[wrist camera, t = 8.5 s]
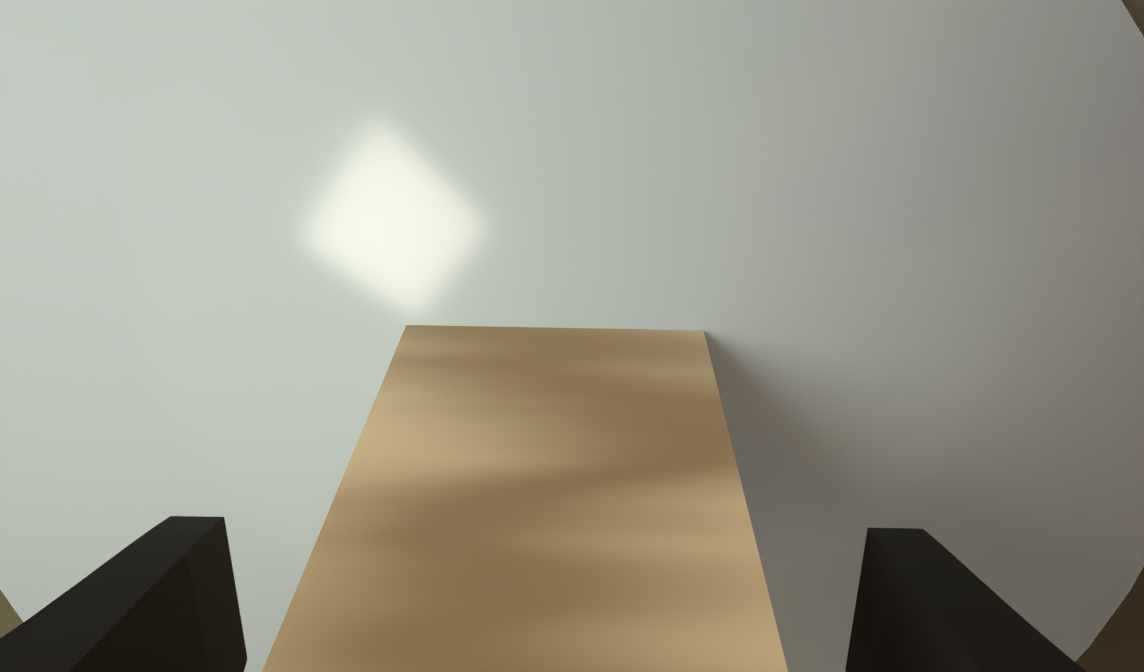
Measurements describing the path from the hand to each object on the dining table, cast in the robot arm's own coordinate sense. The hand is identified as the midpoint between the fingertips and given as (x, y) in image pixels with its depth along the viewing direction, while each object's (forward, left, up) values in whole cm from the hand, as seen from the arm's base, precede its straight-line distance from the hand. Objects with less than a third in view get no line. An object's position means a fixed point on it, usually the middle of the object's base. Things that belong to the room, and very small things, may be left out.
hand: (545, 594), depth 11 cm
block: (0, 0, -3) cm, 3 cm away
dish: (0, 0, -4) cm, 4 cm away
